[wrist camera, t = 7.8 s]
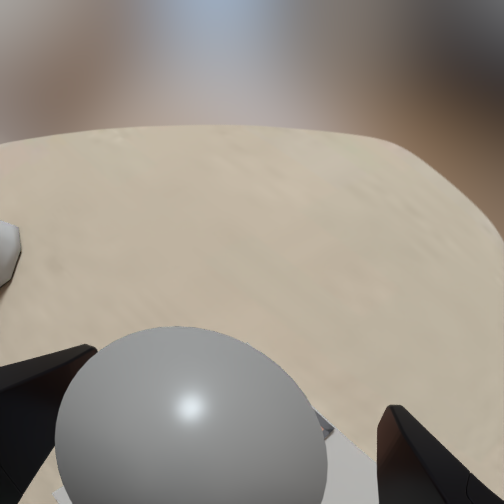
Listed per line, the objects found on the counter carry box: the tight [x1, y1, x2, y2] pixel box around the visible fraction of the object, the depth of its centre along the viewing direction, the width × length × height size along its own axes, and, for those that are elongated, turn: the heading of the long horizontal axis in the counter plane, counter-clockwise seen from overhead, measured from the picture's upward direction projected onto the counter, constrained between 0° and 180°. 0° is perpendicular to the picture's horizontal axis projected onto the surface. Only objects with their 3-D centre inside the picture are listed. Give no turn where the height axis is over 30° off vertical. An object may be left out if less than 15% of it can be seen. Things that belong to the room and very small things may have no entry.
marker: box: [55, 326, 328, 504], centre depth 9 cm, size 4×4×12 cm
